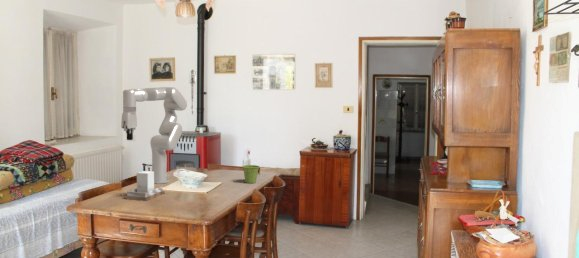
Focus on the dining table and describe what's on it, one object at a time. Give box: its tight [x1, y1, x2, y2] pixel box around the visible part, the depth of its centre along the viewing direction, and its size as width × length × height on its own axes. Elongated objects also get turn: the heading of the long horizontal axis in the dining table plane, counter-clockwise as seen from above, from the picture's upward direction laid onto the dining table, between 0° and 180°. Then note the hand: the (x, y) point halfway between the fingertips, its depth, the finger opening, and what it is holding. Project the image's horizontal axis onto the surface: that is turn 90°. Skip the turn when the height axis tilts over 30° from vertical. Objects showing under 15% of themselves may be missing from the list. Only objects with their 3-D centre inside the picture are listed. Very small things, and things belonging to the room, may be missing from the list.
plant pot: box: [242, 164, 261, 184], centre depth 320 cm, size 12×12×11 cm
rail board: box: [124, 186, 166, 202], centre depth 274 cm, size 20×14×4 cm
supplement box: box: [136, 170, 155, 193], centre depth 274 cm, size 7×7×13 cm
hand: (129, 139), depth 288 cm, fingers closed
